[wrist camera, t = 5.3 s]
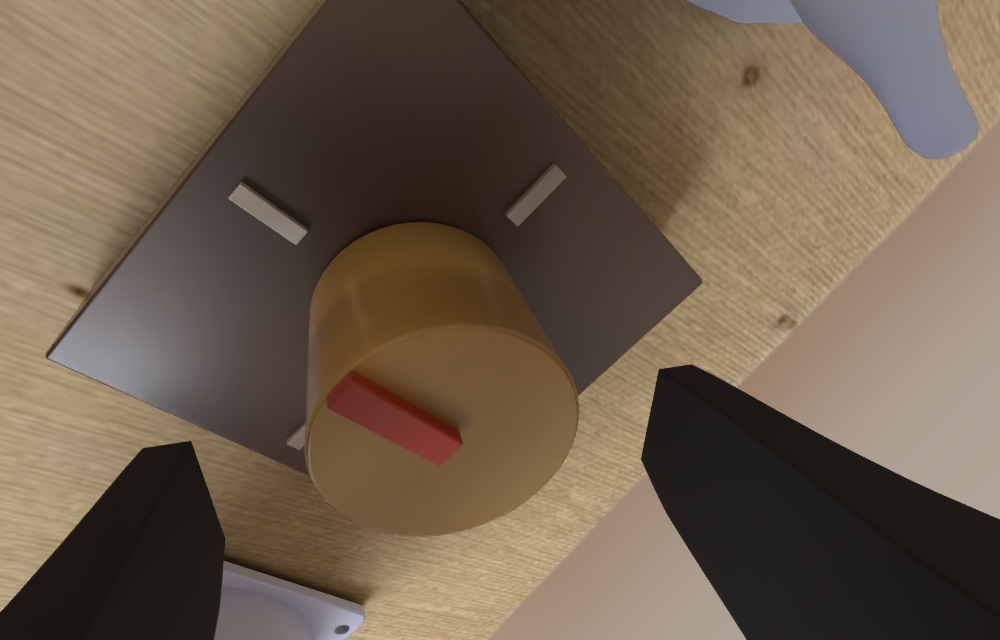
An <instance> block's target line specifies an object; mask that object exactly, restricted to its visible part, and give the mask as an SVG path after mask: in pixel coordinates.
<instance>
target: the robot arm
mask: <svg viewBox="0 0 1000 640" xmlns="http://www.w3.org/2000/svg"><path fill="white" fill-rule="evenodd" d="M641 460H642V462H643V464H644V467H645V469H646V471H647V473H648V476H649V478H650V480H651V482H652V484H653V486H654V489H655V491H656V493H657V495H658V497H659V499H660V501H661V503H662V505H663V507H664V509H665V511H666V513H667V515H668V516H669V518H670V519H671V521H672V523H673V525H674V526H675V528H676V529H677V531H678V533H679V534H680V536H681V537H682V539H683V541H684V542H685V544H686V545H687V547H688V549H689V550H690V552H691V553H692V555H693V556H694V558H695V560H696V561H697V563H698V564H699V566H700V567H701V569H702V571H703V572H704V574H705V575H706V577H707V578H708V580H709V581H710V583H711V585H712V586H713V588H714V589H715V591H716V592H717V594H718V596H719V597H720V598H721V600H722V602H723V603H724V605H725V606H726V608H727V609H728V611H729V613H730V614H731V616H732V617H733V619H734V620H735V622H736V624H737V625H738V627H739V628H740V630H741V631H742V633H743V635H744V636H745V638H746V640H1000V519H997V518H995V517H993V516H990V515H988V514H985V513H983V512H981V511H979V510H976V509H974V508H972V507H969V506H967V505H965V504H962V503H960V502H958V501H956V500H953V499H951V498H949V497H946V496H944V495H942V494H939V493H937V492H935V491H933V490H931V489H928V488H926V487H924V486H922V485H920V484H917V483H915V482H913V481H911V480H909V479H907V478H905V477H903V476H901V475H899V474H897V473H894V472H893V471H891V470H889V469H887V468H885V467H883V466H881V465H879V464H877V463H875V462H873V461H871V460H869V459H867V458H865V457H863V456H861V455H859V454H857V453H854V452H853V451H851V450H849V449H847V448H845V447H843V446H841V445H839V444H837V443H836V442H833V441H832V440H830V439H828V438H826V437H824V436H822V435H820V434H819V433H817V432H815V431H813V430H811V429H810V428H808V427H806V426H804V425H802V424H800V423H799V422H797V421H795V420H793V419H791V418H789V417H787V416H786V415H784V414H782V413H780V412H778V411H777V410H775V409H773V408H771V407H770V406H768V405H766V404H764V403H763V402H761V401H759V400H757V399H755V398H754V397H752V396H750V395H748V394H747V393H745V392H743V391H741V390H739V389H738V388H736V387H734V386H732V385H730V384H729V383H727V382H725V381H723V380H721V379H719V378H718V377H716V376H714V375H712V374H710V373H708V372H706V371H704V370H702V369H700V368H698V367H696V366H694V365H684V366H678V367H671V368H665V369H659V371H658V376H657V381H656V386H655V392H654V397H653V402H652V407H651V412H650V417H649V422H648V427H647V432H646V437H645V442H644V447H643V452H642V457H641ZM224 548H225V537H224V534H223V531H222V528H221V525H220V522H219V519H218V517H217V514H216V511H215V508H214V505H213V502H212V499H211V497H210V494H209V491H208V488H207V485H206V482H205V479H204V477H203V474H202V471H201V468H200V465H199V462H198V459H197V457H196V454H195V451H194V448H193V445H192V442H191V441H188V442H181V443H174V444H168V445H161V446H155V447H148V448H143V449H142V450H141V451H140V452H139V453H138V454H137V455H136V457H135V458H134V459H133V460H132V461H131V462H130V463H129V465H128V466H127V467H126V468H125V469H124V470H123V471H122V473H121V474H120V475H119V476H118V477H117V478H116V480H115V481H114V482H113V483H112V484H111V486H110V487H109V488H108V489H107V490H106V491H105V493H104V494H103V495H102V496H101V497H100V499H99V500H98V501H97V502H96V503H95V505H94V506H93V507H92V508H91V509H90V510H89V512H88V513H87V514H86V515H85V516H84V518H83V519H82V520H81V521H80V522H79V523H78V525H77V526H76V527H75V528H74V529H73V531H72V532H71V533H70V534H69V535H68V536H67V538H66V539H65V540H64V541H63V542H62V543H61V544H60V546H59V547H58V548H57V549H56V550H55V551H54V552H53V554H52V555H51V556H50V557H49V558H48V559H47V560H46V562H45V563H44V564H43V565H42V566H41V567H40V568H39V570H38V571H37V572H36V573H35V574H34V575H33V576H32V578H31V579H30V580H29V581H28V582H27V583H26V584H25V585H24V587H23V588H22V589H21V590H20V591H19V592H18V593H17V595H16V596H15V597H14V598H13V599H12V600H11V601H10V602H9V603H8V605H7V606H6V607H5V608H4V609H3V610H2V611H1V612H0V640H344V639H346V638H347V637H348V636H349V635H350V634H351V633H352V632H354V631H355V630H356V629H357V628H358V627H359V626H360V625H361V624H362V623H363V622H364V621H365V609H364V607H363V606H361V605H360V604H357V603H354V602H351V601H348V600H345V599H342V598H338V597H335V596H332V595H329V594H326V593H323V592H320V591H317V590H314V589H310V588H307V587H304V586H301V585H298V584H295V583H292V582H289V581H286V580H283V579H279V578H276V577H273V576H270V575H267V574H264V573H261V572H258V571H255V570H251V569H248V568H245V567H242V566H239V565H236V564H233V563H230V562H227V561H224Z"/></svg>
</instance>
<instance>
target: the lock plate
mask: <svg viewBox="0 0 1000 640" xmlns="http://www.w3.org/2000/svg"><path fill="white" fill-rule="evenodd" d="M409 222H429V223H439V224H443V225H448V226H452V227H455V228H458V229H460V230H463V231H466V232H468V233H469V234H471V235H473V236H475V237H477V238H478V239H480V240H481V241H482V242H484V243H485V244H487V245H488V246H489V247H490V248H491V249H492V250H493V251H494V252H495V253H496V254H497V255H498V257H499V258H500V259H501V261H502V262H503V263H504V265H505V267H506V268H507V270H508V272H509V273H510V275H511V277H512V278H513V280H514V281H515V283H516V285H517V286H518V288H519V290H520V291H521V293H522V295H523V296H524V298H525V300H526V301H527V303H528V305H529V306H530V308H531V310H532V311H533V313H534V314H535V316H536V318H537V319H538V321H539V323H540V324H541V326H542V328H543V329H544V331H545V333H546V334H547V336H548V338H549V339H550V341H551V342H552V344H553V346H554V347H555V349H556V351H557V352H558V354H559V356H560V357H561V359H562V361H563V362H564V364H565V366H566V367H567V369H568V371H569V373H570V375H571V377H572V378H573V381H574V384H575V387H576V390H577V395H579V394H580V393H582V392H583V391H584V390H585V389H586V388H587V387H588V386H589V385H590V384H591V383H593V382H594V381H595V380H596V379H597V378H598V377H599V376H600V375H601V374H602V373H604V372H605V371H606V370H607V369H608V368H609V367H610V366H611V365H612V364H614V363H615V362H616V361H617V360H618V359H619V358H620V357H621V356H622V355H623V354H625V353H626V352H627V351H628V350H629V349H630V348H631V347H632V346H633V345H634V344H636V343H637V342H638V341H639V340H640V339H641V338H642V337H643V336H644V335H646V334H647V333H648V332H649V331H650V330H651V329H652V328H653V327H654V326H655V325H657V324H658V323H659V322H660V321H661V320H662V319H663V318H664V317H665V316H666V315H668V314H669V313H670V312H671V311H672V310H673V309H674V308H675V307H676V306H678V305H679V304H680V303H681V302H682V301H683V300H684V299H685V298H686V297H687V296H689V295H690V294H691V293H692V292H693V291H694V290H695V289H696V288H697V287H698V286H700V285H701V284H702V279H701V278H700V277H699V275H698V274H697V273H696V272H695V271H694V270H693V268H692V267H691V266H690V265H689V264H688V263H687V262H686V260H685V259H684V258H683V257H682V256H681V255H680V253H679V252H678V251H677V250H676V249H675V248H674V246H673V245H672V244H671V243H670V242H669V241H668V240H667V238H666V237H665V236H664V235H663V234H662V233H661V231H660V230H659V229H658V228H657V227H656V226H655V225H654V223H653V222H652V221H651V220H650V219H649V218H648V216H647V215H646V214H645V213H644V212H643V211H642V210H641V208H640V207H639V206H638V205H637V204H636V203H635V201H634V200H633V199H632V198H631V197H630V196H629V194H628V193H627V192H626V191H625V190H624V189H623V188H622V186H621V185H620V184H619V183H618V182H617V181H616V179H615V178H614V177H613V176H612V175H611V174H610V173H609V171H608V170H607V169H606V168H605V167H604V166H603V164H602V163H601V162H600V161H599V160H598V159H597V157H596V156H595V155H594V154H593V153H592V152H591V151H590V149H589V148H588V147H587V146H586V145H585V144H584V142H583V141H582V140H581V139H580V138H579V137H578V136H577V134H576V133H575V132H574V131H573V130H572V129H571V127H570V126H569V125H568V124H567V123H566V122H565V121H564V119H563V118H562V117H561V116H560V115H559V114H558V112H557V111H556V110H555V109H554V108H553V107H552V105H551V104H550V103H549V102H548V101H547V100H546V99H545V97H544V96H543V95H542V94H541V93H540V92H539V90H538V89H537V88H536V87H535V86H534V85H533V84H532V82H531V81H530V80H529V79H528V78H527V77H526V75H525V74H524V73H523V72H522V71H521V70H520V69H519V67H518V66H517V65H516V64H515V63H514V62H513V60H512V59H511V58H510V57H509V56H508V55H507V53H506V52H505V51H504V50H503V49H502V48H501V47H500V45H499V44H498V43H497V42H496V41H495V40H494V38H493V37H492V36H491V35H490V34H489V33H488V32H487V30H486V29H485V28H484V27H483V26H482V25H481V23H480V22H479V21H478V20H477V19H476V18H475V17H474V15H473V14H472V13H471V12H470V11H469V10H468V8H467V7H466V6H465V5H464V4H463V3H462V1H461V0H320V1H319V2H318V3H317V4H316V6H315V7H314V8H313V9H312V11H311V12H310V13H309V15H308V16H307V17H306V18H305V20H304V21H303V22H302V23H301V25H300V26H299V27H298V29H297V30H296V31H295V32H294V34H293V35H292V36H291V37H290V39H289V40H288V41H287V42H286V44H285V45H284V46H283V48H282V49H281V50H280V51H279V53H278V54H277V55H276V56H275V58H274V59H273V60H272V62H271V63H270V64H269V65H268V67H267V68H266V69H265V70H264V72H263V73H262V74H261V75H260V77H259V78H258V79H257V81H256V82H255V83H254V84H253V86H252V87H251V88H250V89H249V91H248V92H247V93H246V95H245V96H244V97H243V98H242V100H241V101H240V102H239V103H238V105H237V106H236V107H235V108H234V110H233V111H232V112H231V114H230V115H229V116H228V117H227V119H226V120H225V121H224V122H223V124H222V125H221V126H220V128H219V129H218V130H217V131H216V133H215V134H214V135H213V136H212V138H211V139H210V140H209V141H208V143H207V144H206V145H205V147H204V148H203V149H202V150H201V152H200V153H199V154H198V155H197V157H196V158H195V159H194V161H193V162H192V163H191V164H190V166H189V167H188V168H187V169H186V171H185V172H184V173H183V174H182V176H181V177H180V178H179V180H178V181H177V182H176V183H175V185H174V186H173V187H172V188H171V190H170V191H169V192H168V194H167V195H166V196H165V197H164V199H163V200H162V201H161V202H160V204H159V205H158V206H157V207H156V209H155V210H154V211H153V213H152V214H151V215H150V216H149V218H148V219H147V220H146V221H145V223H144V224H143V225H142V227H141V228H140V229H139V230H138V232H137V233H136V234H135V235H134V237H133V238H132V239H131V240H130V242H129V243H128V244H127V246H126V247H125V248H124V249H123V251H122V252H121V253H120V254H119V256H118V257H117V258H116V260H115V261H114V262H113V263H112V265H111V266H110V267H109V268H108V270H107V271H106V272H105V273H104V275H103V276H102V277H101V279H100V280H99V281H98V282H97V284H96V285H95V286H94V287H93V289H92V290H91V291H90V293H89V294H88V295H87V296H86V298H85V299H84V301H83V302H82V303H81V305H80V306H79V308H78V309H77V310H76V312H75V313H74V315H73V316H72V317H71V319H70V320H69V322H68V323H67V324H66V326H65V327H64V329H63V330H62V331H61V333H60V334H59V336H58V337H57V338H56V340H55V341H54V343H53V344H52V345H51V347H50V348H49V350H48V351H47V352H46V358H47V359H49V360H51V361H53V362H55V363H58V364H60V365H62V366H64V367H67V368H69V369H71V370H73V371H76V372H78V373H80V374H82V375H85V376H87V377H89V378H91V379H94V380H96V381H98V382H100V383H103V384H105V385H107V386H109V387H112V388H114V389H116V390H118V391H121V392H123V393H125V394H127V395H130V396H132V397H134V398H136V399H139V400H141V401H143V402H145V403H148V404H150V405H152V406H154V407H157V408H159V409H161V410H163V411H166V412H168V413H170V414H172V415H175V416H177V417H179V418H181V419H183V420H186V421H188V422H190V423H192V424H195V425H197V426H199V427H201V428H204V429H206V430H208V431H210V432H213V433H215V434H217V435H219V436H222V437H224V438H226V439H228V440H231V441H233V442H235V443H237V444H240V445H242V446H244V447H246V448H249V449H251V450H253V451H255V452H258V453H260V454H262V455H264V456H267V457H269V458H271V459H273V460H276V461H278V462H280V463H282V464H285V465H287V466H289V467H291V468H294V469H296V470H298V471H300V472H303V473H305V474H307V475H309V472H308V469H307V466H306V460H305V452H304V446H305V420H306V394H307V368H308V342H309V317H310V305H311V300H312V296H313V293H314V290H315V288H316V285H317V283H318V281H319V279H320V277H321V275H322V274H323V272H324V270H325V269H326V268H327V267H328V265H329V264H330V263H331V261H332V260H333V259H334V258H335V257H336V256H337V255H338V254H339V253H340V252H341V251H342V250H344V249H345V248H346V247H348V246H349V245H350V244H351V243H353V242H354V241H356V240H358V239H359V238H361V237H363V236H365V235H366V234H369V233H371V232H374V231H376V230H378V229H381V228H385V227H388V226H392V225H396V224H402V223H409ZM309 476H310V475H309Z"/></svg>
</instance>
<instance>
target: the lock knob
mask: <svg viewBox="0 0 1000 640" xmlns="http://www.w3.org/2000/svg"><path fill="white" fill-rule="evenodd" d="M578 419H579V402H578V395H577V390H576V387H575V384H574V381H573V378H572V377H571V375H570V373H569V371H568V369H567V367H566V366H565V364H564V362H563V361H562V359H561V357H560V356H559V354H558V352H557V351H556V349H555V347H554V346H553V344H552V342H551V341H550V339H549V338H548V336H547V334H546V333H545V331H544V329H543V328H542V326H541V324H540V323H539V321H538V319H537V318H536V316H535V314H534V313H533V311H532V310H531V308H530V306H529V305H528V303H527V301H526V300H525V298H524V296H523V295H522V293H521V291H520V290H519V288H518V286H517V285H516V283H515V281H514V280H513V278H512V277H511V275H510V273H509V272H508V270H507V268H506V267H505V265H504V263H503V262H502V261H501V259H500V258H499V257H498V255H497V254H496V253H495V252H494V251H493V250H492V249H491V248H490V247H489V246H488V245H487V244H485V243H484V242H482V241H481V240H480V239H478V238H477V237H475V236H473V235H471V234H469V233H468V232H466V231H463V230H460V229H458V228H455V227H452V226H448V225H443V224H439V223H429V222H409V223H402V224H396V225H392V226H388V227H385V228H381V229H378V230H376V231H374V232H371V233H369V234H366V235H365V236H363V237H361V238H359V239H358V240H356V241H354V242H353V243H351V244H350V245H349V246H348V247H346V248H345V249H344V250H342V251H341V252H340V253H339V254H338V255H337V256H336V257H335V258H334V259H333V260H332V261H331V263H330V264H329V265H328V267H327V268H326V269H325V270H324V272H323V274H322V275H321V277H320V279H319V281H318V283H317V285H316V288H315V290H314V293H313V296H312V300H311V305H310V317H309V342H308V368H307V394H306V420H305V446H304V452H305V460H306V466H307V469H308V472H309V475H310V478H311V480H312V482H313V484H314V485H315V487H316V489H317V491H318V492H319V494H320V495H321V496H322V497H323V499H324V500H325V501H326V502H327V503H328V504H329V505H330V506H331V507H332V508H333V509H334V510H335V511H336V512H338V513H339V514H341V515H342V516H344V517H345V518H347V519H348V520H350V521H352V522H354V523H356V524H358V525H360V526H362V527H365V528H368V529H371V530H374V531H377V532H382V533H386V534H391V535H400V536H419V537H424V536H436V535H444V534H450V533H455V532H459V531H463V530H467V529H471V528H474V527H477V526H479V525H482V524H485V523H487V522H490V521H492V520H494V519H497V518H499V517H501V516H503V515H504V514H506V513H508V512H510V511H512V510H514V509H515V508H517V507H518V506H520V505H521V504H523V503H524V502H526V501H527V500H528V499H529V498H531V497H532V496H533V495H534V494H536V493H537V492H538V491H539V490H540V489H541V488H542V487H543V486H544V485H545V484H546V483H547V482H548V481H549V480H550V479H551V478H552V477H553V475H554V474H555V473H556V472H557V470H558V469H559V468H560V466H561V465H562V463H563V461H564V460H565V458H566V457H567V454H568V452H569V450H570V448H571V446H572V444H573V441H574V438H575V435H576V431H577V426H578Z"/></svg>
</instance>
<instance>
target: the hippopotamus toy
mask: <svg viewBox="0 0 1000 640" xmlns="http://www.w3.org/2000/svg"><path fill="white" fill-rule="evenodd" d="M686 1H688V2H690V3H692V4H694V5H696V6H698V7H701V8H703V9H706V10H708V11H711V12H714V13H717V14H720V15H722V16H723V17H725V18H727V19H729V20H732V21H735V22H738V23H745V24H752V23H759V22H761V23H804V24H805V25H806V26H807V28H808V29H809V30H810V31H811V32H812V33H813V34H814V35H815V36H816V37H817V38H818V39H819V40H820V41H821V42H822V43H823V44H824V45H825V46H826V47H827V48H829V49H830V50H831V51H832V52H833V53H834V54H835V55H837V56H838V57H839V58H840V59H841V60H843V61H844V62H845V63H846V64H847V65H848V66H849V67H851V68H852V69H853V70H854V71H855V72H856V73H857V74H858V75H859V76H860V77H861V78H862V79H863V80H864V81H865V82H866V84H867V85H868V86H869V87H870V88H871V90H872V91H873V92H874V94H875V95H876V97H877V98H878V100H879V101H880V103H881V104H882V106H883V107H884V109H885V111H886V112H887V114H888V115H889V117H890V118H891V121H892V122H893V124H894V126H895V127H896V130H897V131H898V133H899V135H900V136H901V138H902V140H903V141H904V142H905V143H906V144H907V145H908V146H909V147H910V148H911V149H912V150H913V151H914V152H916V153H917V154H918V155H920V156H922V157H924V158H927V159H941V158H945V157H948V156H951V155H954V154H956V153H958V152H959V151H961V150H963V149H964V148H966V147H967V146H968V145H969V144H970V143H971V142H972V141H973V140H974V138H975V137H976V135H977V132H978V123H977V119H976V116H975V113H974V111H973V109H972V107H971V105H970V103H969V101H968V100H967V98H966V96H965V94H964V92H963V90H962V89H961V87H960V84H959V82H958V80H957V78H956V76H955V74H954V72H953V69H952V67H951V64H950V61H949V58H948V55H947V52H946V48H945V45H944V41H943V36H942V32H941V27H940V22H939V16H938V10H937V3H936V0H686Z"/></svg>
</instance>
